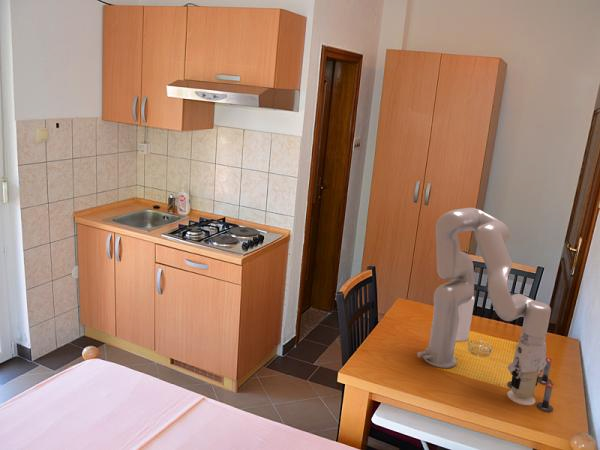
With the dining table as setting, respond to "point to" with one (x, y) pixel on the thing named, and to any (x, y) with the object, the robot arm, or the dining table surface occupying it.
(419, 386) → the dining table surface
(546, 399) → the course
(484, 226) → the robot arm
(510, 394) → the pad
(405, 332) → the dining table surface
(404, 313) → the dining table surface
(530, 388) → the skincare box
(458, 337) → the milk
